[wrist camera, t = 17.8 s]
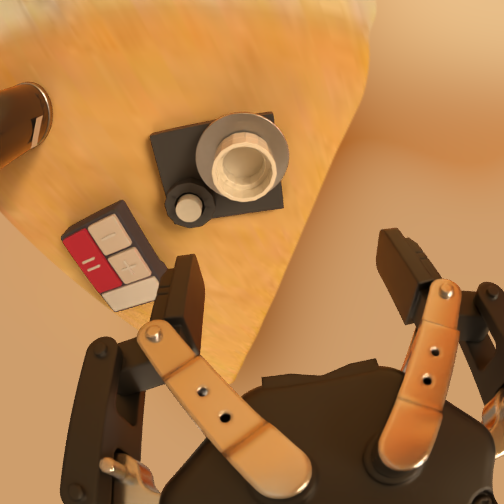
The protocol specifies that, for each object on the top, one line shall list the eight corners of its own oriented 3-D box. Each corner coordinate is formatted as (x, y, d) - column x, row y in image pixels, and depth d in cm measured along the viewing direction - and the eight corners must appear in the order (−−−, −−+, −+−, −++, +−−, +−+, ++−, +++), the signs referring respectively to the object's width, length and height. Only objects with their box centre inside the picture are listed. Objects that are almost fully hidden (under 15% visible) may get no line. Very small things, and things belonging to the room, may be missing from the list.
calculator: (113, 210, 34) (170, 299, 42) (125, 196, 38) (175, 280, 46) (56, 240, 36) (113, 316, 44) (69, 225, 40) (120, 298, 48)
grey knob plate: (176, 219, 40) (172, 231, 37) (152, 132, 33) (145, 139, 30) (282, 203, 39) (285, 214, 37) (271, 111, 32) (274, 116, 30)
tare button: (181, 217, 37) (179, 224, 35) (174, 195, 35) (172, 201, 34) (205, 213, 37) (203, 220, 35) (199, 191, 35) (198, 197, 34)
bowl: (220, 187, 34) (218, 206, 30) (210, 136, 30) (206, 148, 26) (274, 179, 33) (279, 197, 30) (268, 127, 30) (272, 138, 26)
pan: (206, 203, 35) (205, 205, 35) (187, 121, 30) (186, 122, 29) (291, 191, 35) (292, 193, 34) (283, 106, 29) (284, 107, 29)
